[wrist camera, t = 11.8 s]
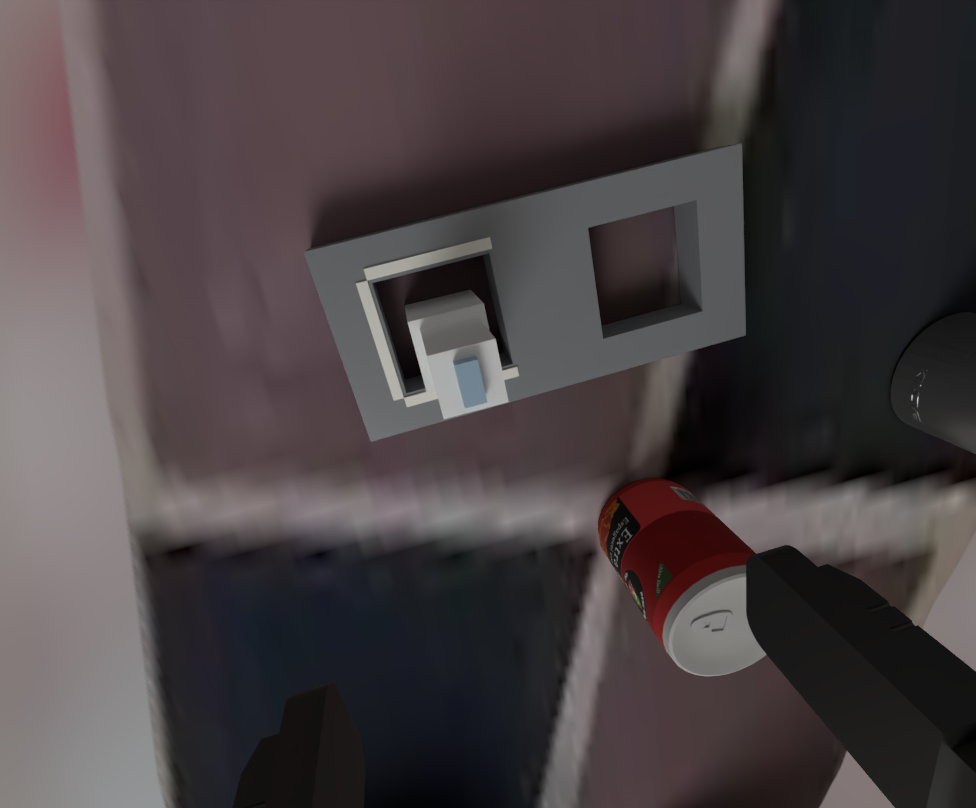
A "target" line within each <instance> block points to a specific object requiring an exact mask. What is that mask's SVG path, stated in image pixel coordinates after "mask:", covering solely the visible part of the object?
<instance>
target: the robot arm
mask: <svg viewBox="0 0 976 808" xmlns="http://www.w3.org/2000/svg"><path fill="white" fill-rule="evenodd" d="M891 403H892V407H893V410H894V412H895V413H896V415H897V417H898V418H899V419H900V420H902V421H903V422H904V423H906V424H908V425H910V426H913V427H915V428H917V429H920V430H922V431H924V432H927V433H929V434H931V435H934V436H936V437H938V438H940V439H943V440H945V441H947V442H950V443H952V444H954V445H957V446H958V447H961V448H963V449H965V450H968V451H970V452H973V453H975V454H976V313H971V312H965V313H957V314H953V315H950V316H947V317H945V318H943V319H941V320H939V321H937V322H935V323H934V324H932V325H931V326H929V327H928V328H927V329H925V330H924V331H923V332H922V333H921V334H920V335H919V336H918V337H917V338H916V339H915V340H914V341H913V342H912V343H911V345H910V346H909V347H908V348H907V350H906V351H905V352H904V354H903V356H902V358H901V359H900V361H899V363H898V365H897V368H896V370H895V373H894V375H893V380H892V385H891ZM746 615H747V620H748V624H749V627H750V629H751V631H752V634H753V635H754V637H755V639H756V641H757V642H758V644H759V645H760V647H761V648H762V649H763V651H764V652H765V653H766V654H767V655H768V656H769V658H770V659H771V660H772V661H773V662H774V664H775V665H776V666H777V667H778V668H779V670H780V671H781V672H782V673H783V674H784V676H785V677H786V678H787V679H788V680H789V682H790V683H791V684H792V685H793V686H794V688H795V689H796V690H797V691H798V692H799V694H800V695H801V696H802V697H803V698H804V699H805V701H806V702H807V703H808V704H809V705H810V707H811V708H812V709H813V710H814V711H815V713H816V714H817V715H818V716H819V717H820V719H821V720H822V721H823V722H824V723H825V725H826V726H827V727H828V728H829V729H830V731H831V732H832V733H833V734H834V735H835V736H836V738H837V739H838V740H839V741H840V742H841V744H842V745H843V746H844V747H845V748H846V750H847V751H848V752H849V753H850V754H851V755H852V757H853V758H854V759H855V760H856V761H857V763H858V764H859V765H860V766H861V768H863V770H864V771H865V772H866V774H867V775H868V776H869V777H870V778H871V779H872V781H873V782H874V783H875V784H876V785H877V786H878V788H879V789H880V790H881V791H882V793H883V794H884V795H885V796H886V797H887V799H888V800H889V801H890V802H891V803H892V805H893V806H894V807H895V808H976V672H975V671H974V670H973V669H972V668H970V667H969V666H968V665H967V664H965V663H964V662H963V661H962V660H960V659H959V658H958V657H956V656H955V655H954V654H953V653H952V652H950V651H949V650H948V649H947V648H945V647H944V646H943V645H942V644H940V643H939V642H938V641H937V640H935V639H934V638H933V637H932V636H930V635H929V634H928V633H927V632H925V631H924V630H923V629H922V628H920V627H919V626H915V625H914V624H913V623H912V620H910V619H909V618H908V617H907V616H905V615H904V614H903V613H902V612H900V611H899V610H898V609H897V608H895V607H894V606H893V607H891V606H890V605H889V603H888V601H887V600H885V599H884V598H883V597H882V596H880V595H879V594H878V593H877V592H875V591H874V590H873V589H872V588H870V587H869V586H868V585H867V584H865V583H864V582H863V581H862V580H860V579H858V578H856V577H854V576H852V575H850V574H847V573H845V572H843V571H841V570H839V569H837V568H834V567H832V566H830V565H828V564H826V565H823V566H820V567H817V566H816V565H815V564H814V563H812V562H811V561H810V560H809V559H808V558H806V557H805V556H804V555H803V554H802V553H801V552H799V551H798V550H797V549H796V548H794V547H792V546H789V545H785V546H781V547H778V548H775V549H771V550H768V551H765V552H762V553H758V554H755V555H752V556H750V557H748V559H747V562H746ZM364 794H365V760H364V752H363V747H362V742H361V739H360V736H359V733H358V731H357V729H356V727H355V725H354V723H353V720H352V718H351V716H350V714H349V712H348V710H347V708H346V706H345V703H344V701H343V699H342V697H341V695H340V693H339V691H338V689H337V687H336V685H335V684H334V683H328V684H325V685H322V686H319V687H315V688H312V689H309V690H306V691H302V692H299V693H296V694H292V695H290V696H289V697H288V699H287V701H286V703H285V707H284V712H283V717H282V722H281V727H280V732H279V734H276V735H273V736H270V737H266V738H263V739H261V741H260V742H259V744H258V746H257V748H256V749H255V751H254V753H253V755H252V756H251V758H250V760H249V761H248V763H247V765H246V767H245V768H244V770H243V772H242V774H241V777H240V781H239V785H238V789H237V793H236V797H235V800H234V804H233V808H364Z"/></svg>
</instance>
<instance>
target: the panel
mask: <svg viewBox="0 0 976 808" xmlns="http://www.w3.org/2000/svg"><path fill="white" fill-rule="evenodd" d="M671 206H674V215H675V229H676V243H677V257H678V271H679V285H680V299H681V304H678V305H675V306H671V307H667V308H664V309H660V310H656V311H653V312H649V313H646V314H642V315H638V316H635V317H631V318H627V319H624V320H620V321H616V322H613V323H609V324H606V325H602V326H601V320H600V312H599V305H598V298H597V290H596V283H595V276H594V268H593V261H592V254H591V246H590V239H589V232H588V228H589V227H593V226H597V225H601V224H605V223H609V222H613V221H617V220H621V219H625V218H628V217H632V216H636V215H640V214H644V213H648V212H652V211H656V210H660V209H664V208H667V207H671ZM304 255H305V258H306V261H307V264H308V266H309V269H310V272H311V275H312V278H313V280H314V283H315V286H316V289H317V292H318V295H319V297H320V300H321V303H322V306H323V309H324V311H325V314H326V317H327V320H328V323H329V325H330V328H331V331H332V334H333V337H334V340H335V342H336V345H337V348H338V351H339V354H340V356H341V359H342V362H343V365H344V368H345V370H346V373H347V376H348V379H349V382H350V384H351V387H352V390H353V393H354V396H355V399H356V401H357V404H358V407H359V410H360V413H361V415H362V418H363V421H364V424H365V427H366V429H367V432H368V435H369V438H370V441H371V442H372V441H375V440H379V439H382V438H386V437H389V436H393V435H396V434H400V433H403V432H407V431H410V430H414V429H417V428H421V427H424V426H428V425H431V424H435V423H439V422H442V421H446V420H449V419H453V418H456V417H460V416H463V415H467V414H470V413H474V412H477V411H481V410H484V409H481V410H477V411H473V412H470V413H466V414H462V415H458V416H455V417H451V418H447V419H444V418H443V415H442V411H441V407H440V404H439V400H438V396H437V393H436V392H433V393H429V394H427V392H426V388H425V385H424V381H423V377H422V375H420V376H416V377H413V378H409V379H404V375H403V372H402V369H401V366H400V362H399V359H398V356H397V353H396V350H395V346H394V343H393V340H392V337H391V333H390V330H389V327H388V324H387V320H386V317H385V314H384V311H383V307H382V304H381V301H380V298H379V294H378V291H377V288H376V285H375V282H379V281H383V280H387V279H391V278H395V277H399V276H402V275H406V274H410V273H414V272H418V271H422V270H426V269H430V268H434V267H438V266H441V265H445V264H449V263H453V262H457V261H461V260H465V259H469V258H473V257H476V256H480V255H483V260H484V264H485V269H486V273H487V278H488V282H489V287H490V292H491V296H492V301H493V305H494V310H495V314H496V319H497V323H498V328H499V332H500V337H501V342H502V346H503V351H504V353H500V354H499V357H500V362H501V367H502V372H503V377H504V382H505V387H506V391H507V396H508V401H509V402H513V401H516V400H520V399H523V398H527V397H530V396H534V395H537V394H541V393H544V392H548V391H551V390H555V389H558V388H562V387H565V386H569V385H572V384H576V383H579V382H583V381H587V380H590V379H594V378H597V377H601V376H604V375H608V374H611V373H615V372H618V371H622V370H625V369H629V368H632V367H636V366H639V365H643V364H646V363H650V362H653V361H657V360H660V359H664V358H668V357H671V356H675V355H678V354H682V353H685V352H689V351H692V350H696V349H699V348H703V347H706V346H710V345H713V344H717V343H720V342H724V341H727V340H731V339H734V338H738V337H742V336H745V335H746V318H745V267H744V217H743V167H742V143H740V144H734V145H728V146H722V147H716V148H712V149H708V150H703V151H699V152H695V153H691V154H687V155H683V156H679V157H675V158H671V159H667V160H663V161H659V162H655V163H651V164H647V165H643V166H639V167H635V168H631V169H627V170H623V171H619V172H615V173H611V174H607V175H603V176H599V177H595V178H591V179H586V180H582V181H578V182H574V183H570V184H566V185H562V186H558V187H554V188H550V189H546V190H542V191H538V192H534V193H530V194H526V195H522V196H518V197H514V198H510V199H506V200H502V201H498V202H494V203H490V204H486V205H482V206H478V207H474V208H470V209H465V210H461V211H457V212H453V213H449V214H445V215H441V216H437V217H433V218H429V219H425V220H421V221H417V222H413V223H409V224H405V225H401V226H397V227H393V228H389V229H385V230H381V231H377V232H373V233H369V234H365V235H361V236H357V237H353V238H348V239H344V240H340V241H336V242H332V243H328V244H324V245H320V246H316V247H312V248H309V249H308V250H306V251H304ZM509 402H507V403H509ZM503 404H505V403H503ZM500 405H502V404H500ZM496 406H498V405H496ZM492 407H495V406H492ZM488 408H491V407H488ZM488 408H485V409H488Z"/></svg>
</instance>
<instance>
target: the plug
mask: <svg viewBox="0 0 976 808" xmlns="http://www.w3.org/2000/svg"><path fill="white" fill-rule="evenodd" d="M404 306H405V312H406V317H407V322H408V326H409V330H410V333H411V337H412V341H413V344H414V348H415V352H416V355H417V359H418V363H419V366H420V370H421V374H422V377H423V381H424V385H425V388H426V392H427V394H429V393H433V392H436V393H437V396H438V400H439V404H440V407H441V411H442V415H443V418H444V419H447V418H451V417H455V416H458V415H462V414H466V413H470V412H473V411H477V410H481V409H485V408H488V407H492V406H496V405H500V404H503V403H507V402H509V401H508V396H507V391H506V387H505V382H504V377H503V372H502V367H501V362H500V357H499V353H498V348H497V343H496V338H495V337H494V336H493V335H492V334H491V332H490V330H489V326H488V321H487V316H486V311H485V306H484V303H483V302H482V301H481V300H480V299H479V298H478V297H477V296H476V295H475V294H474V293H473V292H472V291H471V290H466V291H462V292H457V293H453V294H449V295H445V296H441V297H437V298H433V299H429V300H425V301H421V302H416V303H412V304H408V305H404Z"/></svg>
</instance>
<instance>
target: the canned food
mask: <svg viewBox="0 0 976 808" xmlns="http://www.w3.org/2000/svg"><path fill="white" fill-rule="evenodd" d="M598 532H599V539H600V544H601V546H602V548H603V551H604V552H605V554H606V556H607V557H608V559H609V560H610V562H611V564H612V565H613V567H614V568H615V570H616V572H617V573H618V575H619V577H620V578H621V580H622V581H623V583H624V585H625V586H626V588H627V589H628V591H629V593H630V594H631V596H632V598H633V599H634V601H635V602H636V604H637V606H638V607H639V609H640V610H641V612H642V614H643V615H644V617H645V619H646V620H647V622H648V623H649V625H650V627H651V628H652V630H653V631H654V633H655V635H656V636H657V638H658V639H659V641H660V642H661V644H662V645H663V647H664V648H665V650H666V652H667V653H668V654H669V655H670V656H671V658H672V659H673V660H674V662H675V663H676V664H677V665H678V666H679V667H680V668H682V669H683V670H685V671H686V672H689V673H692V674H695V675H701V676H719V675H724V674H729V673H732V672H735V671H738V670H741V669H743V668H745V667H747V666H750V665H752V664H753V663H755V662H756V661H758V660H760V659H761V658H763V657H764V656H765V655H766V653H765V652H764V651H763V649H762V648H761V647H760V645H759V644H758V642H757V641H756V639H755V637H754V635H753V634H752V631H751V629H750V627H749V624H748V620H747V615H746V562H747V559H748V557H750V556H752V555H755V554H756V553H755V552H754V551H753V550H752V549H751V548H750V547H748V546H747V545H746V544H745V543H744V542H743V541H742V540H741V539H740V538H739V537H738V536H737V535H736V534H735V533H733V532H732V531H731V530H730V529H729V528H728V527H727V526H726V525H725V524H724V523H723V522H722V521H721V520H720V519H719V518H717V517H716V516H715V515H714V514H713V513H712V512H711V511H710V510H709V509H708V508H707V507H706V506H705V505H704V504H702V503H701V502H700V501H699V500H698V499H697V498H696V497H695V496H694V495H693V494H692V493H691V492H690V491H688V490H687V489H686V488H685V487H683V486H681V485H679V484H677V483H675V482H672V481H670V480H666V479H662V478H649V479H642V480H639V481H635V482H633V483H631V484H629V485H627V486H625V487H623V488H622V489H621V490H619V491H618V492H617V493H615V494H614V495H613V496H612V497H611V498H610V499H609V501H608V502H607V503H606V505H605V506H604V508H603V510H602V512H601V515H600V518H599V522H598Z"/></svg>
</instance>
